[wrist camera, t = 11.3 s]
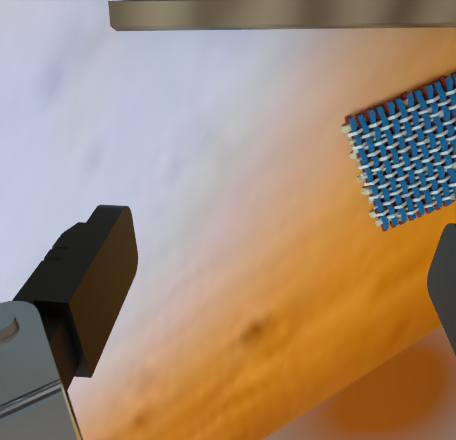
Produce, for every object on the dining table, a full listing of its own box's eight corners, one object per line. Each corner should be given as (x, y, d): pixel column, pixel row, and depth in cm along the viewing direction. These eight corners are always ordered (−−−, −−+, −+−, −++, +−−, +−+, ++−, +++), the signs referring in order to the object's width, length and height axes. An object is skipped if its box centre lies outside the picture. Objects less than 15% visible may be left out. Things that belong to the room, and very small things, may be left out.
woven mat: (372, 232, 37) (380, 239, 35) (334, 120, 34) (341, 121, 32) (483, 186, 36) (499, 191, 34) (455, 68, 33) (470, 66, 31)
